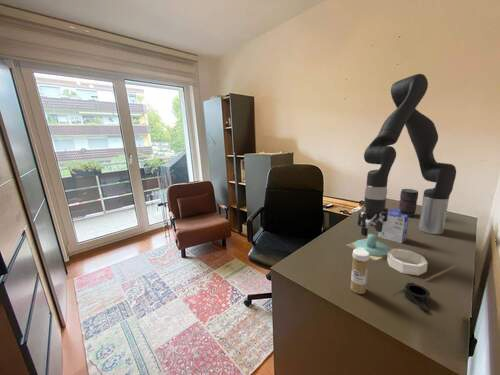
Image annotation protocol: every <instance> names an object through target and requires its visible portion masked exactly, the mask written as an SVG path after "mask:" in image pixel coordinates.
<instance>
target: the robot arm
mask: <svg viewBox="0 0 500 375" xmlns="http://www.w3.org/2000/svg"><path fill="white" fill-rule="evenodd" d="M428 88H429V83H428V79H427V76H426V75H425V74H423V73H416V74H413V75H411V76H408V77H405V78H402V79H400V80H397V81H395V82H394V83H393V84H391V87H390V95H391V98H392V102H393V104H395V107H396V108H395V110H394V111H392V113H390V115H389V116H388V117H386V120H385V121H384V122H383V124H382V125H381V128H380V130H379V132H378V134H377V135H376V137H375V138H374V139H373V140H372V141H371V142H370V143H369V145H368V146H367V147H366V149H365V150H364V153H363V159H364V161H365V163H366V164H371V165H380V167H379V168H378V169H373V170H369V171H368V172H367V174H366V175H367V176H366V186H365V191H364V200H363V206H364V209H365V211H364V212H363V211H359V213H358V220H357V226H358V227H361V230H360V231H361V232H360V233H361V236H363V237H368V234H369V231H368V230H369V228H368V227H369V226H370V224H371V223H372V222H373V221H375V220H376V221H377V224H376V228H375V231H376V232H378V233H379V232H382V226H383V224H384V222H386V221H387V217H388V212H389V209H388V208H387V207H386V203H387V194H388V189H387V187H388V181H389V174H390V171H391V169H392V166H393V165H394V163H395V160H396V158H397V150H396V149H395V147H393V145H395V144H396V143H397V142H398V140H399V138H400V136H401V134H402V131H403V130H404V127H405V128H406V130H407V133H408V137H409V139H410V141H411V144H412V145H413V148H414V151H415V154H416V156H417V157H416V158H417V160H418V165H419V168H420V173H421V176H422V179H424V180H425V181H427V182H430V183H431V182H432V183H435V185H434V187H433V188H427V189H424V191H423V194H422V196H423V197H422V203H421V210H420V218H419V223H418V229H419V231H421V232H423V233H427V234H431V235H442V234H443V233H444V230H445V224H446V217H447V214H448V213H447V212H448V206H449V200H450V196H451V193H452V192H453V189H454V184H455V180H456V176H457V169H456V166H455V165H454V164H451V163H445V162H437V161H436V159H435V156H434V150H435V149H436V148H435V147H436V146H437V143H438V141H439V133H438V130H437V127H436V125H435V123H434V122H433V120H432V119H430V118H429V117H427V116H426V115H425V114H424V113H422V112H420V111H419V110H417V106H418V105H419V104H420V102H421V101H422V99H423V98H424V96H425V95H426V93H427V90H428ZM383 216H384V218H383Z"/></svg>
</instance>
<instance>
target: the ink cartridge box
mask: <svg viewBox="0 0 500 375" xmlns="http://www.w3.org/2000/svg"><path fill="white" fill-rule="evenodd" d="M400 210H401V209H399V208H397V207H396V208H395V207H391V209H390V211H388V217H387V221H386V222H384V224H383V226H382V232H378V235H377V238H378V237H379V238H382V239H385V240H389V241H393V242H396V243H399V244H403V243H404V242H405V241H406V240H407V233H408V225H409V218H410V217H409V216H408V215H403V214H400ZM383 218H384V216H383Z"/></svg>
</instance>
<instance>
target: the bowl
mask: <svg viewBox="0 0 500 375" xmlns="http://www.w3.org/2000/svg"><path fill="white" fill-rule="evenodd" d="M392 249H393V250H390V251H388V254H387V256H386V262H387V263H388V266H389V268H392V269H394V270H395V271H398V272H399V273H401V274H406V275H413V276H421V275H423V274H425V273H427V270H428V261H427V260H426V258H425V256H424V255H421V254H420V253H418V252H415V251H413V250H410V249H403V248H392Z"/></svg>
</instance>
